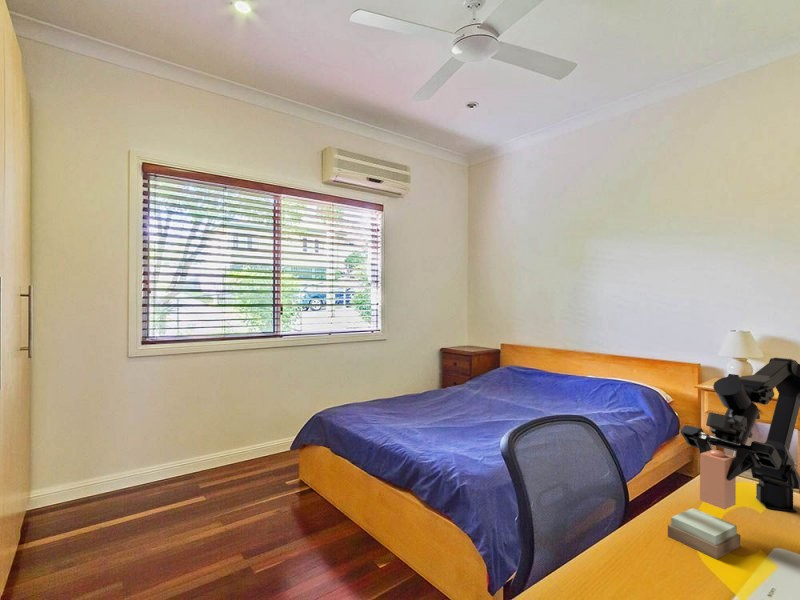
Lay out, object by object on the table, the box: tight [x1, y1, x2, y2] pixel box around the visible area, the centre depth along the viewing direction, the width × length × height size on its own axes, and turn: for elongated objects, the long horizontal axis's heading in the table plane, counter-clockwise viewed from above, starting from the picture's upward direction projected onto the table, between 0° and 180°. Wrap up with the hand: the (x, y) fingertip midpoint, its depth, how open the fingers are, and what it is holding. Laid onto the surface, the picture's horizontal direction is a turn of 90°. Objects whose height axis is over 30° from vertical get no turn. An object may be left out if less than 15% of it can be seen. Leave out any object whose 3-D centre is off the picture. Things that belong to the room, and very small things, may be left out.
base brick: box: [667, 507, 742, 560], centre depth 95 cm, size 10×10×4 cm
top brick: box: [699, 449, 737, 510], centre depth 98 cm, size 5×5×12 cm
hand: (714, 475), depth 98 cm, fingers closed on top brick, 5 cm apart
